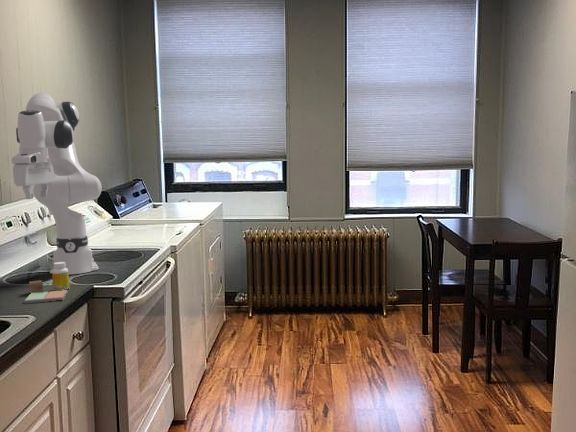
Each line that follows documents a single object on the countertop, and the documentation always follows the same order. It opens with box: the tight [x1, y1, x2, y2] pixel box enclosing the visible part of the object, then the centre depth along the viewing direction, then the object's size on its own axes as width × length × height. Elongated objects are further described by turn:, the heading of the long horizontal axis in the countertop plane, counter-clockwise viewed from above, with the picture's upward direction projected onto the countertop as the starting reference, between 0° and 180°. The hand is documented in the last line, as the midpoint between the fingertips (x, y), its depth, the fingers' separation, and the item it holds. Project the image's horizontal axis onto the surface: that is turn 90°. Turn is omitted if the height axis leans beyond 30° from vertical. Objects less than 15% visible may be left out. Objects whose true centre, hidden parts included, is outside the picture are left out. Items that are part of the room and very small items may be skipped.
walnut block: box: [28, 279, 44, 293], centre depth 217 cm, size 4×4×4 cm
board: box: [23, 290, 69, 305], centre depth 209 cm, size 11×12×1 cm
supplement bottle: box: [51, 262, 70, 290], centre depth 220 cm, size 5×5×10 cm
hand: (36, 198), depth 216 cm, fingers open, 8 cm apart
